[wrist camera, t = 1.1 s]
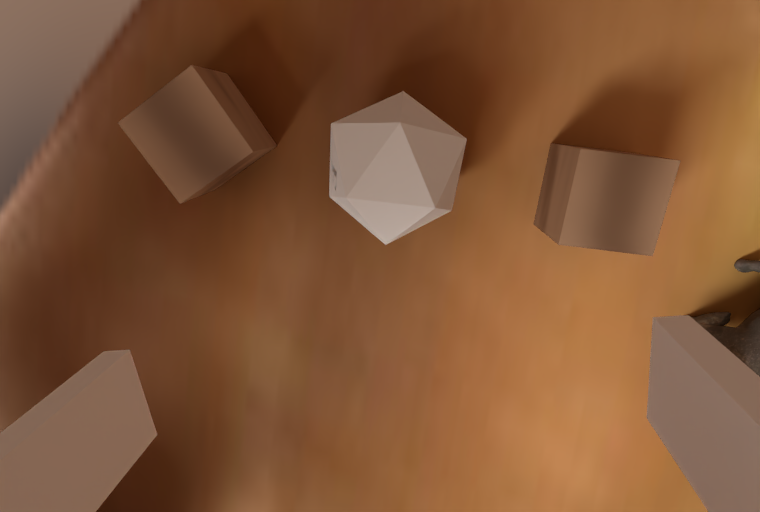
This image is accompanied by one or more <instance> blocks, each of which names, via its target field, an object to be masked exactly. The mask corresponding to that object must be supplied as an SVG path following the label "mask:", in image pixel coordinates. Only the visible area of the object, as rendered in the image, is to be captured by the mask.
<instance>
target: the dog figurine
mask: <svg viewBox="0 0 760 512" xmlns="http://www.w3.org/2000/svg"><path fill="white" fill-rule="evenodd" d="M734 266H735V268H736V269H737V270H738V271H740V272H751V271H756V272H760V261H758V260H753V261H749V260H744V259H740V260H738V261H736V263H735V264H734ZM730 315H731V313H729V312H714V313H710V314H703V315H700V316H697V317H691V318H693V319H694V320H695V321H696V322H697V323H698V324H699V325H701V326H702V327H703V328H704V329H705V330H706V331H708V332H709V333H710V334H711V335H712V336H713V337H714V338H716V339H717V340H718V341H719V342H720V343H721V344H722V345H724V346H725V347H726V348H727V349H728V350H729V351H731V352H732V353H733V354H734V355H735V356H736V357H737V358H739V359H740V360H741V361H742V362H743V363H744V364H745V365H747V366H748V367H749V368H750V369H751V370H752V371H754V372H755V373H756V374H757V375H758V376H759V377H760V309H759V310H757V311H755V312H754V313H752V314H751V315H750V316H749V317H748V318H747V319H746V320H745V321H744V322H743V323H742V324H740V325H739V326H738V327H736V328H734V327H726V326H724V325H725V324H727V323H728V322H729V321H730Z"/></svg>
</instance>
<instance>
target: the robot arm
mask: <svg viewBox="0 0 760 512" xmlns="http://www.w3.org/2000/svg"><path fill="white" fill-rule="evenodd" d="M647 419H648V421H649V422H650V424H651V425H652V427H653V428H654V430H655V431H656V433H657V434H658V436H659V437H660V439H661V440H662V442H663V443H664V445H665V446H666V448H667V449H668V451H669V452H670V454H671V455H672V457H673V458H674V460H675V462H676V463H677V465H678V466H679V468H680V469H681V471H682V472H683V474H684V475H685V477H686V478H687V480H688V481H689V483H690V484H691V486H692V487H693V489H694V490H695V492H696V493H697V495H698V496H699V498H700V499H701V501H702V503H703V504H704V506H705V507H706V509H707V510H708V512H760V377H759V376H758V375H757V374H756V373H755V372H754V371H752V370H751V369H750V368H749V367H748V366H747V365H745V364H744V363H743V362H742V361H741V360H740V359H739V358H737V357H736V356H735V355H734V354H733V353H732V352H731V351H729V350H728V349H727V348H726V347H725V346H724V345H722V344H721V343H720V342H719V341H718V340H717V339H716V338H714V337H713V336H712V335H711V334H710V333H709V332H708V331H706V330H705V329H704V328H703V327H702V326H701V325H699V324H698V323H697V322H696V321H695V320H694V319H693V318H691V317H690V316H689V315H685V316H668V317H653V325H652V341H651V357H650V373H649V389H648V406H647ZM156 436H157V432H156V429H155V426H154V423H153V420H152V417H151V414H150V410H149V407H148V404H147V401H146V398H145V395H144V392H143V389H142V386H141V383H140V380H139V377H138V373H137V370H136V367H135V364H134V361H133V358H132V355H131V352H130V350H115V351H103V352H102V353H101V354H100V355H98V356H97V357H96V358H95V359H93V360H92V361H91V362H89V363H88V364H87V365H86V366H84V367H83V368H82V369H81V370H79V371H78V372H77V373H76V374H74V375H73V376H72V377H70V378H69V379H68V380H67V381H65V382H64V383H63V384H62V385H60V386H59V387H58V388H57V389H55V390H54V391H53V392H51V393H50V394H49V395H48V396H46V397H45V398H44V399H43V400H41V401H40V402H39V403H38V404H36V405H35V406H34V407H33V408H31V409H30V410H29V411H27V412H26V413H25V414H24V415H22V416H21V417H20V418H19V419H17V420H16V421H15V422H14V423H12V424H11V425H10V426H8V427H7V428H6V429H5V430H3V431H2V432H1V433H0V512H96V511H97V510H98V508H99V507H100V506H101V505H102V503H103V502H104V501H105V500H106V498H107V497H108V496H109V495H110V493H111V492H112V491H113V490H114V488H115V487H116V486H117V485H118V483H119V482H120V481H121V480H122V478H123V477H124V476H125V475H126V473H127V472H128V471H129V470H130V468H131V467H132V466H133V465H134V463H135V462H136V461H137V460H138V458H139V457H140V456H141V455H142V453H143V452H144V451H145V450H146V448H147V447H148V446H149V445H150V443H151V442H152V441H153V440H154V438H155V437H156Z"/></svg>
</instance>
